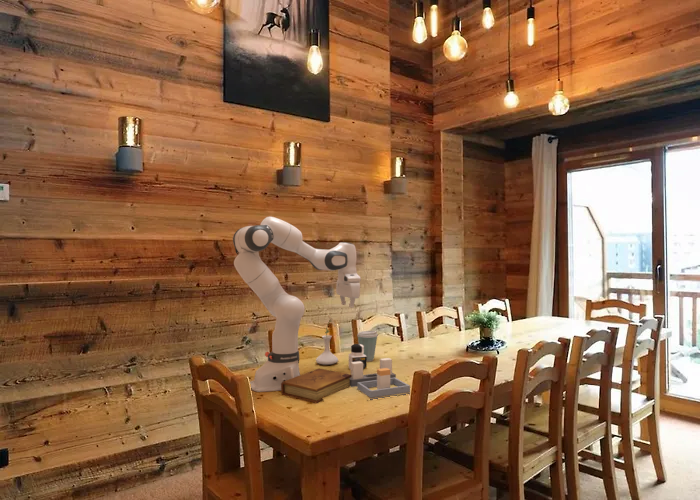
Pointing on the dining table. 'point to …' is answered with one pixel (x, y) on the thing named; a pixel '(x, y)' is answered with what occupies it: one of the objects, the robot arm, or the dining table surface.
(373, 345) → the disposable coffee cup
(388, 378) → the marked fuse
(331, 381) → the diary
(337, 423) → the dining table surface
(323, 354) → the flower in vase
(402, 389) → the tray
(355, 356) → the medicine bottle
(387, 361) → the block
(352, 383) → the fuse block
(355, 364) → the block
